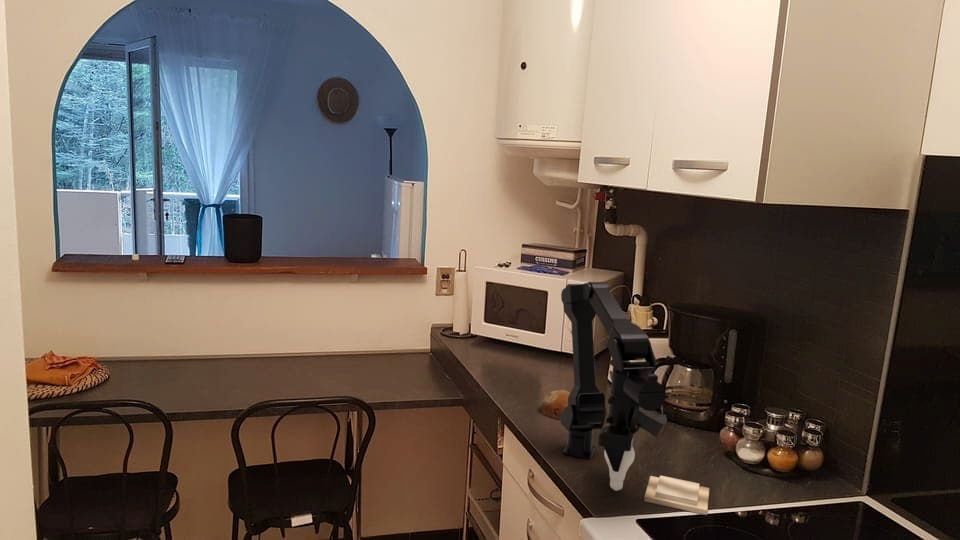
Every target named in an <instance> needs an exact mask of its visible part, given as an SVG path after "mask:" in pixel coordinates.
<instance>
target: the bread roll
mask: <svg viewBox="0 0 960 540" xmlns="http://www.w3.org/2000/svg"><path fill="white" fill-rule="evenodd" d="M570 393H571V392H569V391H568V390H564V389H559V390H558V389H557V390H553V391H549V392H548V393H547V394H546V395H545V396H544V397H543V398H542V401H541V403H540V410H541V412H542V414H544V415H545V416H547V417H549V418H552V419H554V420H560V421H561V417H560V415H561V413H562V412H563V411H564V410H565V408H566V407H567V406H568V396H569V395H570Z"/></svg>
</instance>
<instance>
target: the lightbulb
mask: <svg viewBox="0 0 960 540" xmlns="http://www.w3.org/2000/svg"><path fill="white" fill-rule="evenodd" d="M603 450H604V453H603V455H604V459H605V462H606V464H607V466H608V471H609V473H608V474H609V478H610V481H609V486H610V488H611V489H612V490H613V491H616V492H617V491H621V490H622V489H623V486H624V480H625V479H626V475H627V471H628V470H629V468H630V467H631V466H632V464H633V463H634V461H635V455H636V453H635V449H634V447H633V446H632V448H631V451H625V452H624V455H623V459H622V462H621V465H620V468H619V471H618V472H615V471H613V469H612V467H611V464H610V461H609V458H608V456H607V453H606V451H605V449H603Z"/></svg>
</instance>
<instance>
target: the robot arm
mask: <svg viewBox="0 0 960 540" xmlns="http://www.w3.org/2000/svg"><path fill="white" fill-rule="evenodd" d="M560 297H561V302H562V307H563V312H564V314H565V315H566V316H567V319H568V320H569V321H570V322H571V339H572V361H573V363H572V364H573V383H574V386H573V387H572V389H571V391H570V392H569V393H570V395H569V396H568V406H567V407H566V408H565V410H564V411H563V412H562V413H561V415H560V417H561V420H560V424H561V425H562V426H563V427H564V428H565V429H566V430H567V431H568V432H567V443H566V445H565V447H564V449H563V450H562V454H563V455H568V456H571V457H572V456H573V457H577V458H582V459H587V460H591V459H592V457H593V455H594V453H595V451H596V446H593V439H594V430H601V431H600V433H599V435H598V442H597V445H598V446H600V447H603V448H604V450H605V451H606V453H607V456H608V458H609V461H610V464H611V467H612V469H613V471H615V472H618V471H619V468H620V465H621V462H622V459H623V455H624V452H625V451H631V448H632V447H633V445H634V436H635V434H636V433H637V432H638V431H639V430H640V429H642V430H643V431H646V432H647V433H649V434H651V436H653V437H655V438H659V437H660V436H661V434H662V431H663V430H664V428H665V425H666V424H667V420H668V418H667V415H666V414H665V413H664V407H663V404H664V402H665V401H666V398H667V396H666V395H667V393H666V390H665V387H664V386H663V384H662V383H660V382H658V381H659V376H658V375H657V374H656V373H653V372H654V371H657V370H658V368H657V364H656V363H657V359H656V356H655V354H654V350H653V347H652V343H651V339H650V338H649V336H648V335H647V333H646V332H645V331H644V330H643V329H642V327H640V326H639V325H637V324H635V323H633V322H631V321H630V320H629V319H628V318H627V316H626V315H625V313H624V311H623V310H622V308H621V307H620V305H619V303H618V302H617V300H616V298H615V297H614V296H613V294H612V292H611V288H610V285H609V283H607V282H604V281H588V282H585V283H568V284H566V285H565V287H564V288H563V289H562V290H561V295H560ZM596 316H597V317H598V319H599V320H600V321H599V322H601V324H602V326H603V328H604V330H605V331H606V333H607V336H608V337H607V340H606V346H607V348H608V352H609V355H610V357H611V359H610V360H609V363H608V364H609V365H611V366H612V374H611V375H612V376H611V387H610V393H609V394H610V395H609V397H608V400H607V403H608V404H609V405H608V406H609V407H608V411H607V407H606V396H605V393H604V392H601V391H600V389H599V387H598V386H597V383H596V382H597V381H596V365H595V364H596V363H595V346H594V329H593V328H594V326H593V322H594V319H595V317H596ZM607 412H608V415H607ZM605 421H606V423H607V424H609V425H606V426H605V427H604V424H605Z"/></svg>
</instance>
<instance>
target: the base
mask: <svg viewBox="0 0 960 540" xmlns="http://www.w3.org/2000/svg"><path fill="white" fill-rule="evenodd" d="M644 493H645V494H644V499H643V500H644V501H643V502H646V503H651V504H655V505H660V506H664V507H669V508H673V509H678V510H683V511H685V512H686V511H687V512H691V513H696V514H700V515H705V516H707V515H708V508H709V507H708V506H709V496H710V487H706V486H702V485H701V486H700V483H698V482H693V481H689V480H685V479H684V480H683V479H680V478H679V479H678V478H675V477H669V476H665V475H659V477H657V476H652V475H650V476H649V480H648V483H647V487H646V491H645V492H644Z"/></svg>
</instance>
